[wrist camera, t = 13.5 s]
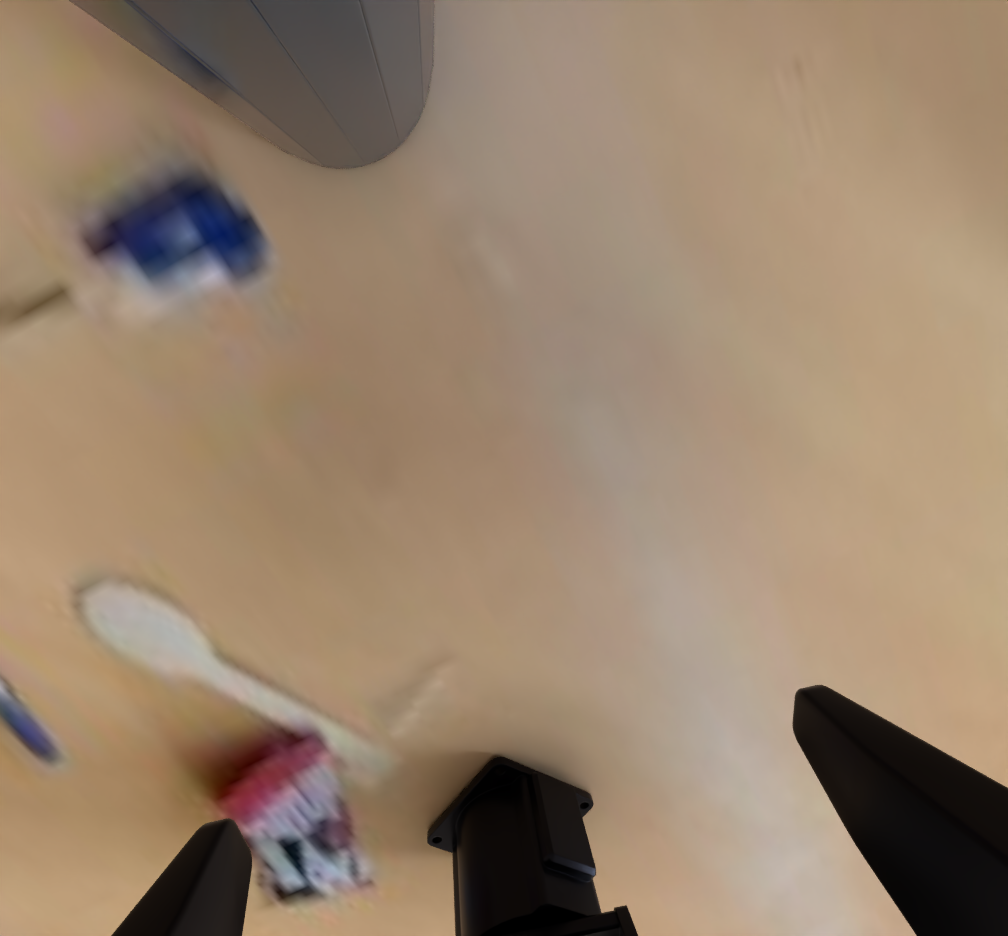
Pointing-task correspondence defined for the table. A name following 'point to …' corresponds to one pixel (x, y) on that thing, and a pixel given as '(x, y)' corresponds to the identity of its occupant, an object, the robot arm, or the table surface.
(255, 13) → the pencil cup
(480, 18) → the table surface
